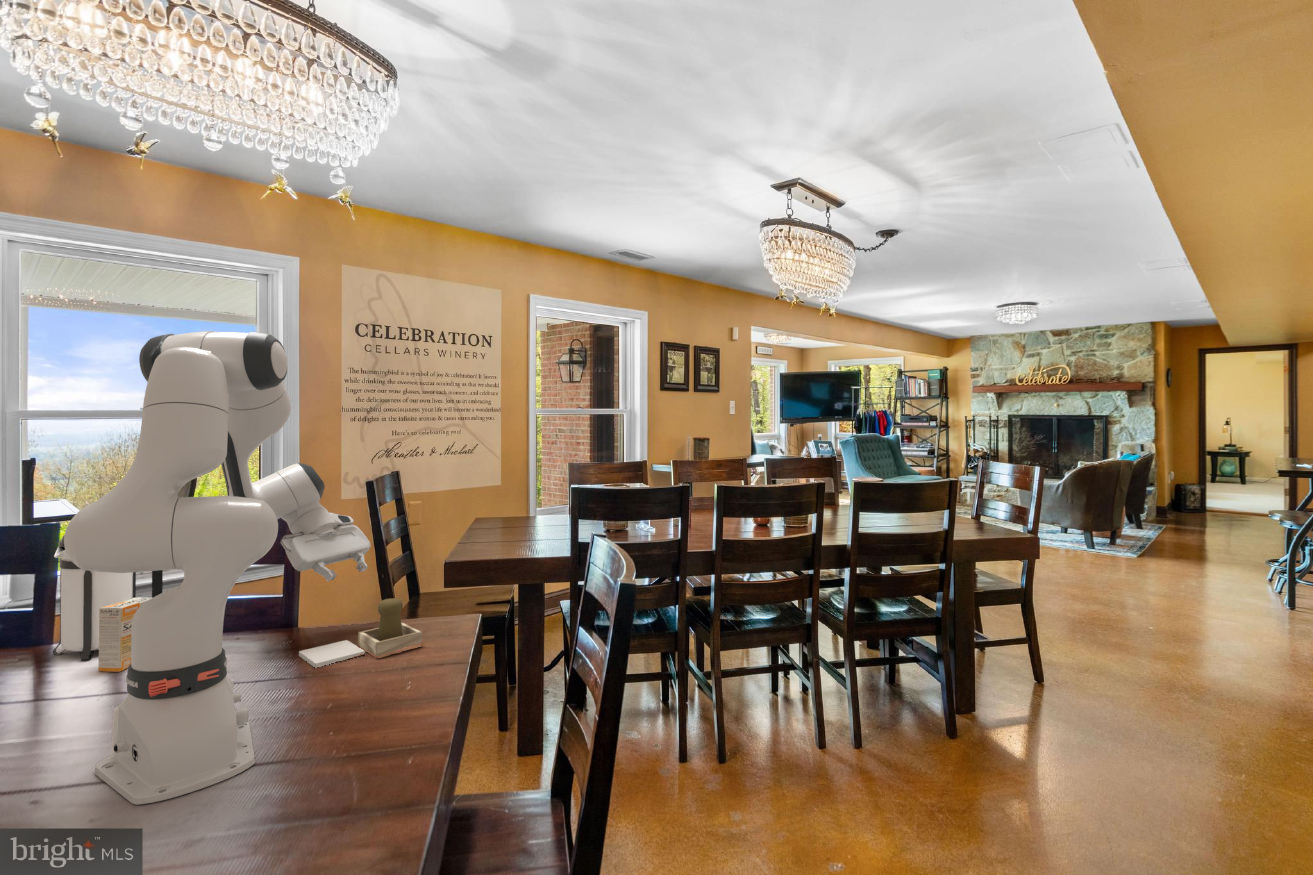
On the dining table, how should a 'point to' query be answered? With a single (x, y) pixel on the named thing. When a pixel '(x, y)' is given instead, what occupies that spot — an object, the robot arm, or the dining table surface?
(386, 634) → the cork
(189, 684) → the robot arm
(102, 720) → the dining table surface
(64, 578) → the coffee press
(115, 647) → the supplement box
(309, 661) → the ceramic tile
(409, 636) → the frame
